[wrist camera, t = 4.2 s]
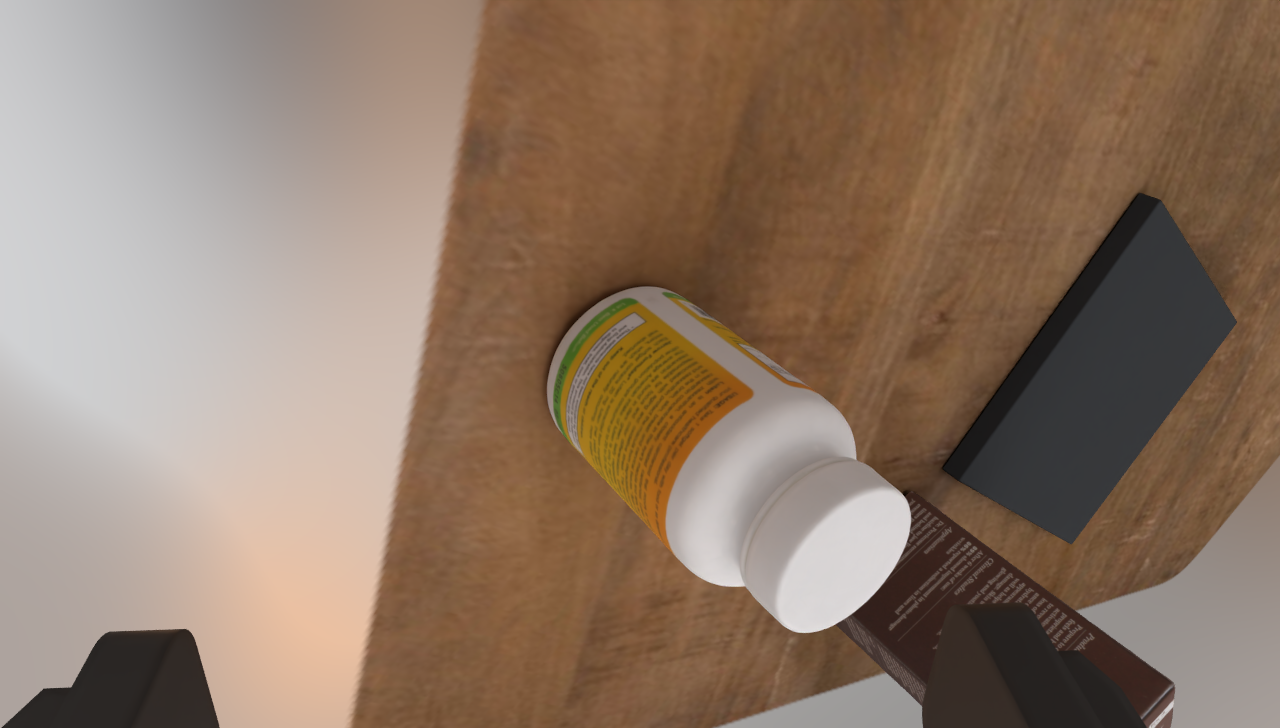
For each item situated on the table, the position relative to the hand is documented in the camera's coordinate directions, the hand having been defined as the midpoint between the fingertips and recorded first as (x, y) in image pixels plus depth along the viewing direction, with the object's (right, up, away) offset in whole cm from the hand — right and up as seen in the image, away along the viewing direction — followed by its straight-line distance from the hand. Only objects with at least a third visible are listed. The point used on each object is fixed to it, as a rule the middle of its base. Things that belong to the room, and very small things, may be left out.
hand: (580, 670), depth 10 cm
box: (+11, -5, +31) cm, 33 cm away
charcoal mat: (+22, +2, +34) cm, 41 cm away
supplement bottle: (0, +3, +18) cm, 18 cm away
